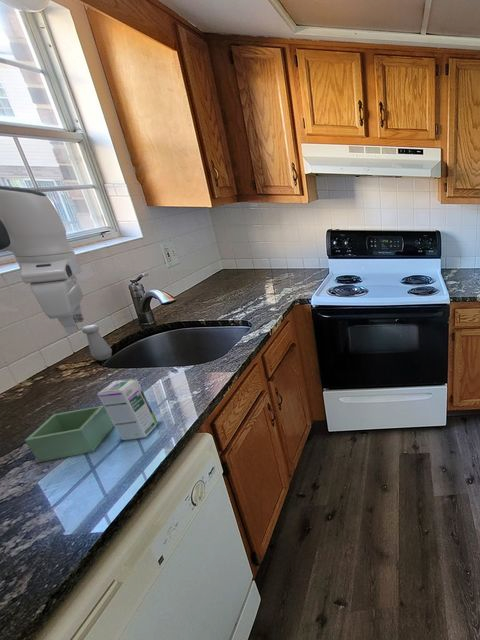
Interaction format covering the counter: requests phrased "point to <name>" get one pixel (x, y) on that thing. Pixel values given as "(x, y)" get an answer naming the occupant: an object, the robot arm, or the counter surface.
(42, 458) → the green open square box
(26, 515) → the counter surface
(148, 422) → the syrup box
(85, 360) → the counter surface
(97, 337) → the salt shaker
